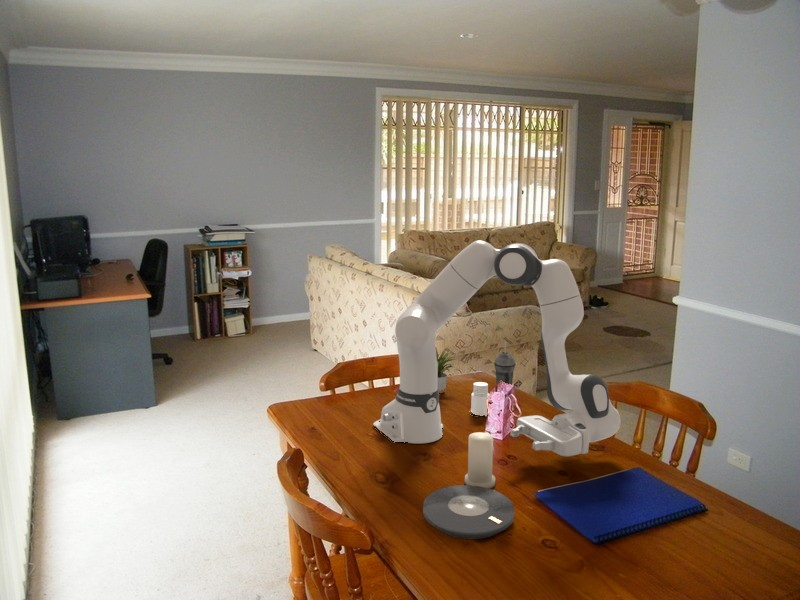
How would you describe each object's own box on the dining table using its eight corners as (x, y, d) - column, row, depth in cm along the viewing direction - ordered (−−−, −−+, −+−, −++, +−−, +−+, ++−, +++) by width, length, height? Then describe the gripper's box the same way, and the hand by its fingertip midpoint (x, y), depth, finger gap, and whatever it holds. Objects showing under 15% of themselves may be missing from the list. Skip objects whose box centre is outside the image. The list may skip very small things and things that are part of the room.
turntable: (404, 509, 145) (404, 502, 145) (468, 483, 157) (468, 476, 157) (468, 547, 130) (468, 540, 129) (533, 515, 142) (533, 508, 142)
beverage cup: (513, 392, 229) (515, 337, 226) (515, 399, 222) (517, 342, 219) (492, 392, 230) (494, 337, 227) (493, 398, 223) (495, 342, 219)
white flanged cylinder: (458, 481, 162) (458, 436, 160) (479, 472, 167) (480, 428, 165) (480, 492, 156) (481, 445, 154) (501, 483, 161) (502, 437, 159)
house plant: (444, 402, 220) (445, 355, 217) (409, 395, 227) (410, 349, 224) (463, 390, 232) (464, 346, 229) (429, 384, 239) (430, 341, 236)
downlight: (492, 418, 205) (493, 387, 204) (470, 418, 205) (470, 387, 204) (489, 410, 213) (490, 380, 212) (468, 410, 213) (468, 380, 212)
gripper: (542, 407, 179) (500, 415, 174) (593, 432, 161) (547, 442, 155) (541, 428, 180) (499, 437, 175) (592, 455, 162) (547, 466, 156)
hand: (522, 439), depth 165 cm, fingers open, 8 cm apart
